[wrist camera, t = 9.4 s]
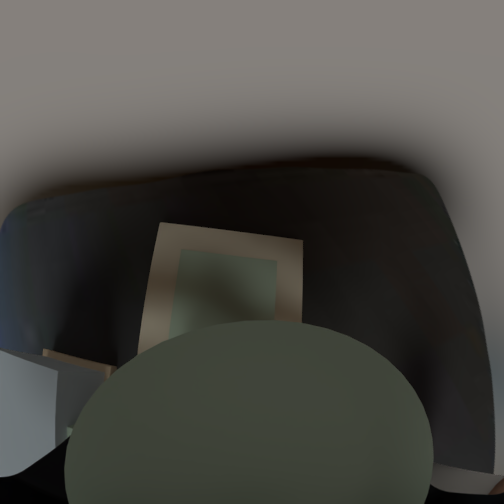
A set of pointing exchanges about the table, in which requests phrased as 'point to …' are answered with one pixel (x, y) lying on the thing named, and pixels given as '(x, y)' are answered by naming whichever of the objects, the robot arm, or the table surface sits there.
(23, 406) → the block
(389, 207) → the table surface
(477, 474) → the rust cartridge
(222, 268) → the pad
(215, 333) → the knob
